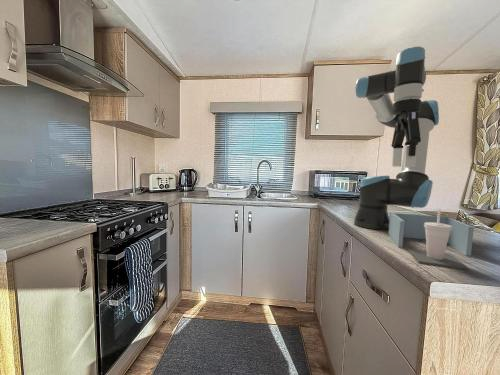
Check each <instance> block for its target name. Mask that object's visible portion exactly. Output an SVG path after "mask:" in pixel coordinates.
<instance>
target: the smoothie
mask: <svg viewBox="0 0 500 375" xmlns="http://www.w3.org/2000/svg"><path fill="white" fill-rule="evenodd" d="M437 216H438V217H437V223H434V222H425V223H424V227H425V233H426V239H425V243H426V245H425V246H426V247H425V248H426V251H427V256H428V257H430V258H433V259H438V260H442V259H443V258H444V254H445V253H446V250H447V244H448V243H447V242H448V238H449V235H450V231H451V230H452V226H450V225H447V224H442V223H439V222H440V216H441V209H438V210H437Z"/></svg>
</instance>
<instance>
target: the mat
mask: <svg viewBox="0 0 500 375" xmlns="http://www.w3.org/2000/svg"><path fill="white" fill-rule="evenodd" d="M407 252H408V253H409V254H410V255H411V256H412V257H413V259H415V261H416V263H417V264H421V263H422V264H423V265H428V266H430V265H431V266H436V267H437V266H438V267H442V268H443V267H445V268H450V269H458V270H466V271H469V267H468V266H467V265H466V264H464V263H463V262H462V261H460V260H459V259H457V257H455V256H454V255H452V254H451V253H446V252H445V254H444V258H443V259H442V260H438V259H433V258H430V257H428V256H427V250H422V249H421V250H420V249H413V248H407Z"/></svg>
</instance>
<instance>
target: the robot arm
mask: <svg viewBox="0 0 500 375" xmlns="http://www.w3.org/2000/svg"><path fill="white" fill-rule="evenodd" d="M425 59H426V49H425V48H424V47H423V46H412V47H408V48H404V49H403V50H401V51H399V53H398V54H397V55H396V62H395V70H390V71H386V72H381V73H377V74H372V75H366V76H363V77H360V78H358V79H357V80H356V83H355V96H356V97H357V98H359V99H365V98H366V100H368V102H369V104H370V105H371V107H372V109H373V110H374V112H375V119H377V121H378V122H379V123H380V124H382V125H384V126H385V127H388V128H389V127H390V128H393V129H394V130H393V135H392V140H391V141H392V142H391V145H390V146H391V147H392V159H391V167H393V168H394V167H395V168H396V167H399V168H401V170H400V172H398V173H397V174H396V176H395V178H391V177H390V175H376V176H366V177H362V178H361V180H360V185H359V198H358V199H359V202H358V209H357V212H356V214H355V216H354V219H353V224H354V226H357V227H361V228H364V229H371V230H389V220H390V214H389V213H388V206H398V207H406V208H407V207H408V208H413V209H414V208H416V209H417V208H418V209H420V208H421V209H423V208H425V207H427V206H428V203H429V200H430V197H431V194H432V189H433V180H432V179H431V180H430V177H429V176H428V174H426V167H427V156H428V147H429V141H430V139H429V138H430V132H431V131H432V130H434V128H435V126H438V125H439V120H440V116H439V115H440V114H439V110H440V109H439V102H438V101H437V100H436V99H435V100H434V99H431V100H430V99H429V100H427V99H425V100H421V98H422V97H423V96H422V94H423V92H424V91H425V89H424V88H423V87H424V85H425V84H426V80H427V73H426V66H425V62H426V60H425ZM390 94H393V100H392V98H391V96H390ZM393 102H394V103H393ZM404 140H405V143H404ZM403 143H404V145H403ZM403 150H404V151H403Z"/></svg>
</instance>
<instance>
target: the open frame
mask: <svg viewBox="0 0 500 375" xmlns="http://www.w3.org/2000/svg"><path fill="white" fill-rule="evenodd" d="M437 217H438V215H427V214H425V215H424V214H414V213H402V212H401V213H400V212H399V213H398V212H390V213H389V219H390V220H389V229H388V236H389V237H390V239H391V240H392V241H393V243H394V244H395V245H396V247H397V248H401V249H402V248H403V244H404V238H410V239H419V240H426V233H425V227H424V223H425V222H434V223H437ZM439 223H442V224H447V225H450V226H452V230H451V231H450V235H449V238H448V242H447V244H448V245H449V246H451V247H452V248H454V249H456V250H457V251H459V253H461V254H463V255H465V256H466V257H467V256H468V257H471V256H472V249H473V241H474V240H473V238H474V229H475V227H474V226H472V225H470V224H468V223H465V222H462V221H460V220H457V219H454V218H452V217H451V216H450V217H449V216H441V215H440V222H439Z"/></svg>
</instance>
